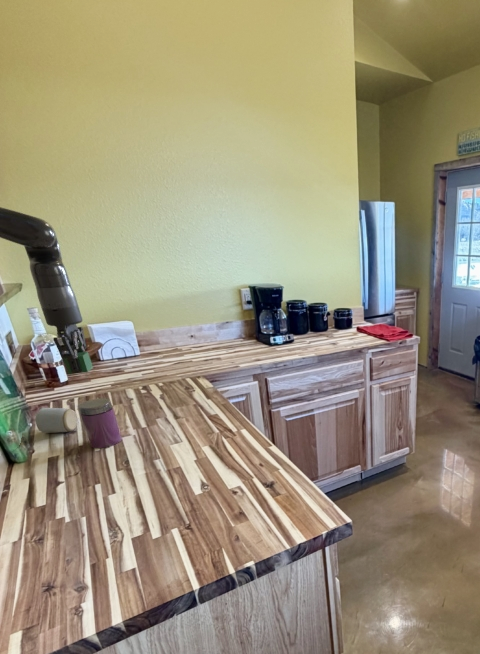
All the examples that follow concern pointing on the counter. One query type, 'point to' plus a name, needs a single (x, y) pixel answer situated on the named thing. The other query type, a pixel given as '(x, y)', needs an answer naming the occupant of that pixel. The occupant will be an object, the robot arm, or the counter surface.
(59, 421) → the grey canister
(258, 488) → the counter surface
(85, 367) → the block
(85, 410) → the jar lid
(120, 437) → the jar
